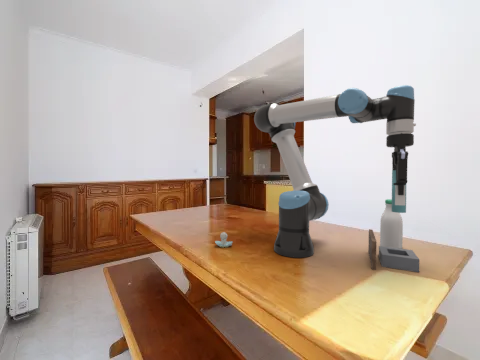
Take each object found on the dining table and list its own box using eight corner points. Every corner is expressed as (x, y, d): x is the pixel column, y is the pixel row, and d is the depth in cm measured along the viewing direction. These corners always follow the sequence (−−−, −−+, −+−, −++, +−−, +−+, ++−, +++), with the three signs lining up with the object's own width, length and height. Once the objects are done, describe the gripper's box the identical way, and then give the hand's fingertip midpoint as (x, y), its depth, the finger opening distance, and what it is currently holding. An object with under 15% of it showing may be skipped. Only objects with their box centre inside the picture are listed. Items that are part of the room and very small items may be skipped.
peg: (392, 212, 77) (393, 170, 77) (390, 210, 81) (391, 170, 80) (407, 213, 75) (407, 170, 75) (404, 211, 79) (405, 170, 78)
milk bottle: (406, 251, 91) (407, 201, 90) (384, 250, 92) (385, 200, 92) (396, 245, 98) (397, 199, 98) (377, 244, 100) (377, 198, 99)
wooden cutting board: (371, 269, 74) (372, 241, 74) (368, 252, 90) (368, 229, 90) (375, 269, 73) (376, 241, 73) (371, 252, 90) (372, 229, 89)
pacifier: (216, 244, 100) (214, 248, 94) (216, 229, 100) (214, 232, 94) (233, 244, 100) (232, 248, 94) (233, 230, 100) (232, 233, 94)
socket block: (381, 266, 76) (381, 254, 76) (378, 256, 85) (378, 246, 85) (419, 272, 72) (419, 259, 72) (411, 261, 81) (412, 250, 81)
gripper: (420, 129, 68) (418, 208, 69) (408, 137, 83) (407, 202, 84) (390, 131, 71) (389, 206, 72) (383, 138, 87) (382, 201, 87)
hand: (398, 204), depth 78 cm, fingers closed on peg, 4 cm apart
